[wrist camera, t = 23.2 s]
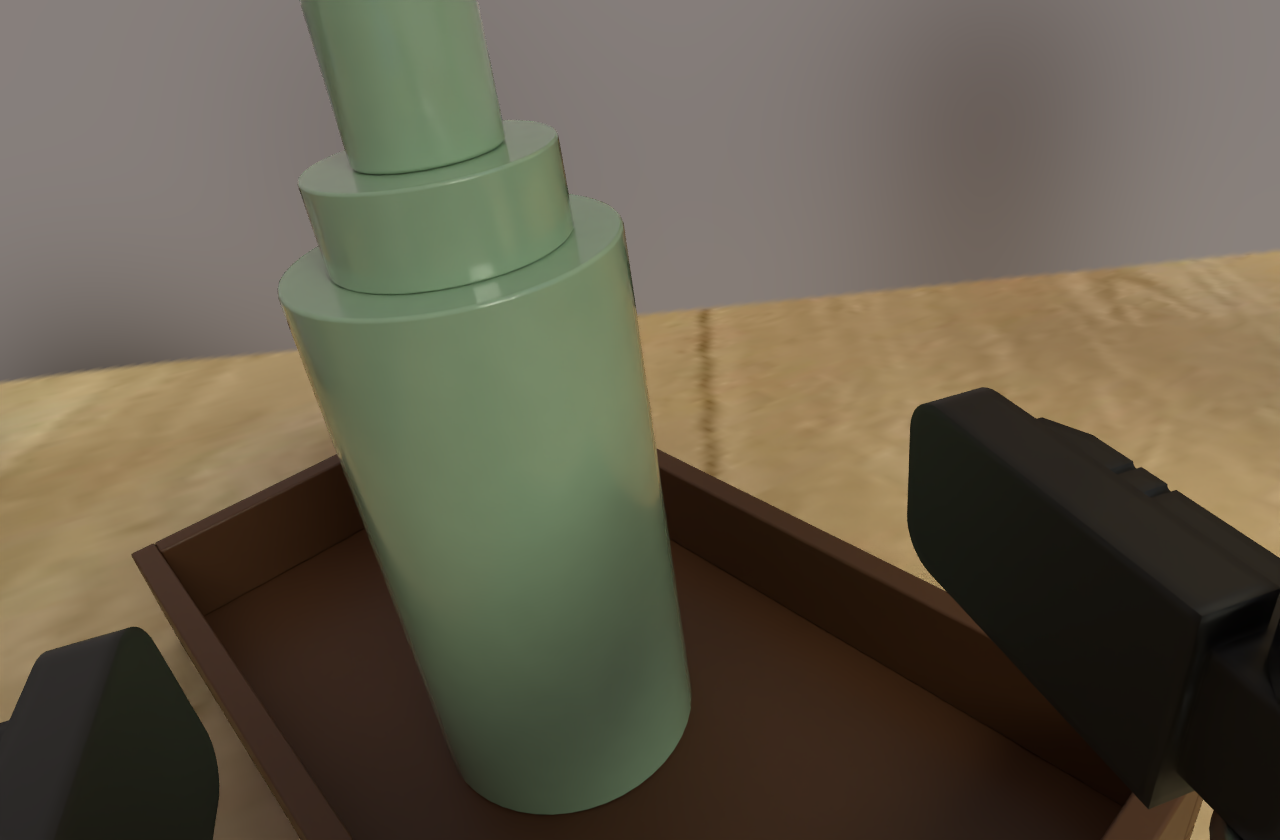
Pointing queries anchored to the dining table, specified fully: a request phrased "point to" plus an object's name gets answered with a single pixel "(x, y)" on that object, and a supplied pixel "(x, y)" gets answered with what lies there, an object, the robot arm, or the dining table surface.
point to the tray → (719, 675)
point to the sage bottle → (489, 411)
